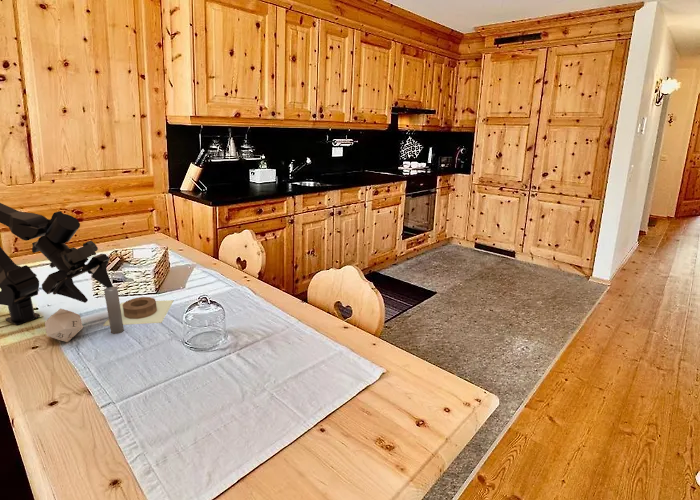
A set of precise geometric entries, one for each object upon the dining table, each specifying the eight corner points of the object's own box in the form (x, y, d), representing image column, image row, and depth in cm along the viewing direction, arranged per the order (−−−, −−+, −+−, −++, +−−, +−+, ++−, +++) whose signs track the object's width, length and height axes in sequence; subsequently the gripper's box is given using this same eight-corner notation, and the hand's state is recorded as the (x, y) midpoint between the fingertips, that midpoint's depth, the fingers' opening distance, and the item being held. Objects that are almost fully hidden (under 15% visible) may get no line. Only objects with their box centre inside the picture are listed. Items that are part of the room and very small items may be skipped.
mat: (102, 326, 127) (102, 325, 127) (121, 303, 142) (121, 302, 142) (161, 323, 129) (161, 322, 129) (174, 301, 144) (173, 300, 144)
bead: (117, 314, 134) (116, 305, 133) (143, 303, 141) (142, 294, 140) (137, 321, 130) (135, 311, 129) (162, 309, 137) (161, 301, 136)
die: (46, 351, 115) (65, 324, 113) (32, 328, 118) (50, 301, 116) (77, 347, 123) (94, 322, 121) (62, 326, 126) (79, 300, 124)
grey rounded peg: (108, 333, 124) (101, 289, 120) (119, 328, 126) (112, 286, 122) (115, 336, 122) (108, 292, 118) (126, 331, 125) (119, 288, 121)
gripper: (41, 244, 109) (87, 290, 110) (99, 226, 127) (138, 265, 127) (22, 271, 113) (66, 315, 114) (80, 250, 131) (118, 288, 132)
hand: (99, 294), depth 122 cm, fingers open, 9 cm apart
